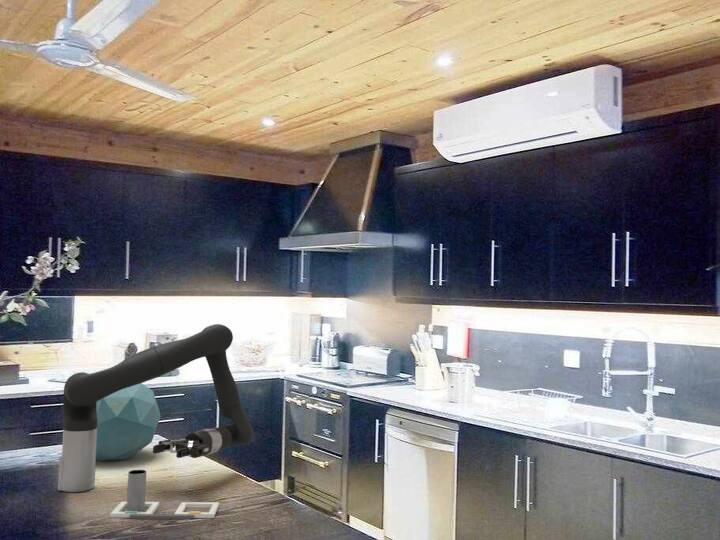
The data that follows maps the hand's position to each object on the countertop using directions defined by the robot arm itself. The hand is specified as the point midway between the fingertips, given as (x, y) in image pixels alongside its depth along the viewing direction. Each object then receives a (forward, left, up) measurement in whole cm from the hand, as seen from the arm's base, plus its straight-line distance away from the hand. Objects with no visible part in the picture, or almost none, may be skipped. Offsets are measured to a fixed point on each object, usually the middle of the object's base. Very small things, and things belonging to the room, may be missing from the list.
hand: (165, 451), depth 187 cm
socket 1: (-5, -9, -13) cm, 17 cm away
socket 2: (+11, -9, -13) cm, 20 cm away
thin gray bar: (+3, -15, -13) cm, 20 cm away
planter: (-5, -9, -14) cm, 17 cm away
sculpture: (-27, +48, -14) cm, 56 cm away
